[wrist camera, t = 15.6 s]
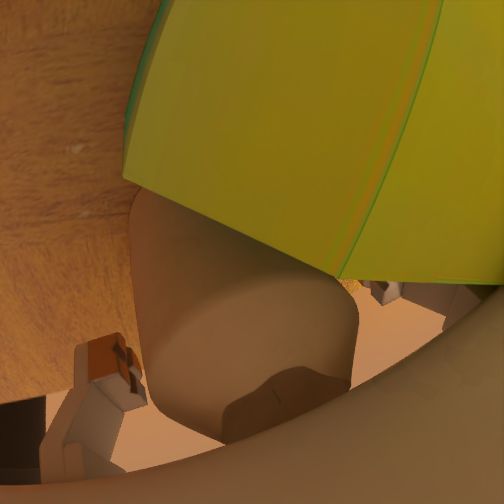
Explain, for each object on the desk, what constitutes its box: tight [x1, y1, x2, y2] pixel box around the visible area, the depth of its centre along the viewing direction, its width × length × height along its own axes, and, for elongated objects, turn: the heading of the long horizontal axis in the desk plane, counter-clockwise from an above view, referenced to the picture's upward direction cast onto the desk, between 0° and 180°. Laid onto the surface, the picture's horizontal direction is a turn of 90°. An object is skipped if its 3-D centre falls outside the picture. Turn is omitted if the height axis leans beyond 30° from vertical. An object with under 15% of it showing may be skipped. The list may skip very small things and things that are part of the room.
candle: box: [128, 187, 359, 445], centre depth 10 cm, size 6×6×10 cm
